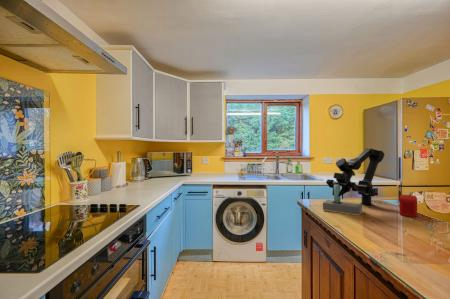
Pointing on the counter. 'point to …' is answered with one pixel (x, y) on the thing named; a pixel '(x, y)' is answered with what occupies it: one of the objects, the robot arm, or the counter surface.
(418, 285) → the counter surface
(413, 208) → the decorative item
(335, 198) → the peg
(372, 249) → the counter surface
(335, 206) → the socket block
